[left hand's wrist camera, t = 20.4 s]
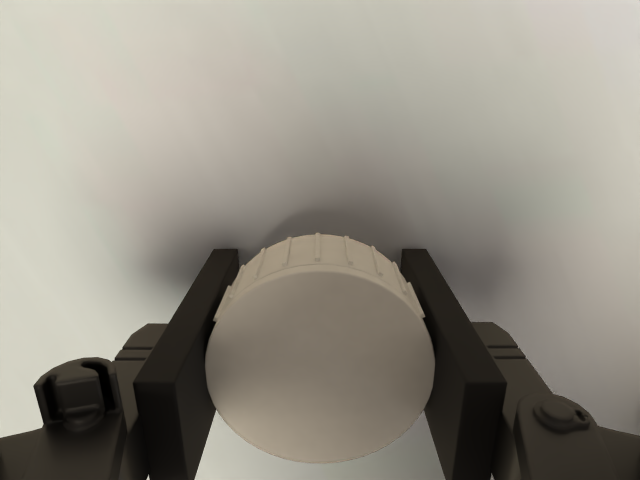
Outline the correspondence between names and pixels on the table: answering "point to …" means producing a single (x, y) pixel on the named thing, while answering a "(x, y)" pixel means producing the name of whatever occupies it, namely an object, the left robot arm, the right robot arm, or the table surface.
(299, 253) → the lid
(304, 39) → the table surface
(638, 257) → the table surface
